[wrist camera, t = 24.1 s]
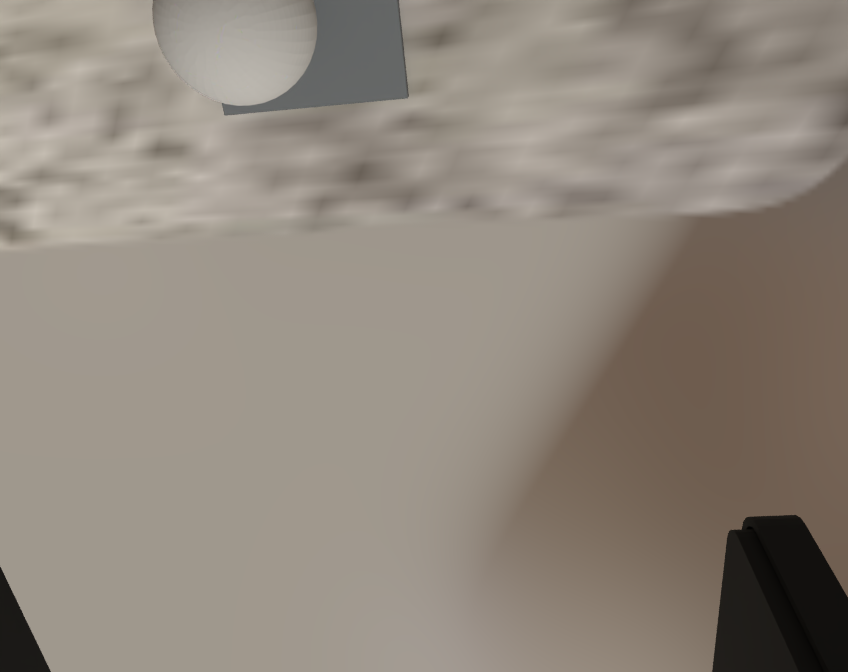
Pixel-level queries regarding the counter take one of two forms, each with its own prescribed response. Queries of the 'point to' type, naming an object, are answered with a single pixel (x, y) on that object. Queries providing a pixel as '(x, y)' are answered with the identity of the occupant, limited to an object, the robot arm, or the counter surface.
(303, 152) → the counter surface
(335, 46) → the mat
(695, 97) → the counter surface
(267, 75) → the light bulb
